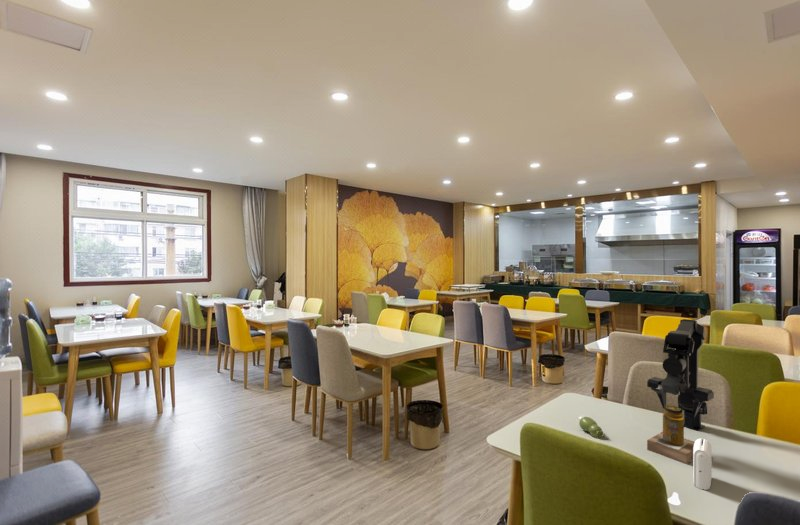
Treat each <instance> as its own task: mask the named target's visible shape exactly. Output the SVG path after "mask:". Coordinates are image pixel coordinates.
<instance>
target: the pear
mask: <svg viewBox="0 0 800 525" xmlns="http://www.w3.org/2000/svg"><path fill="white" fill-rule="evenodd" d="M579 427H580V428H581V430H583V431H584V432H589V434H590V436H591V437H593V438H594V437H596V438H595V439H597V437H599V438H602V437H603V436H604V431H603V430H602V428H601V426H599V425H598V423H597V422H596V420H594V419H592V418H591V417H588V416H582V417H581V418H580V419H579Z"/></svg>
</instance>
